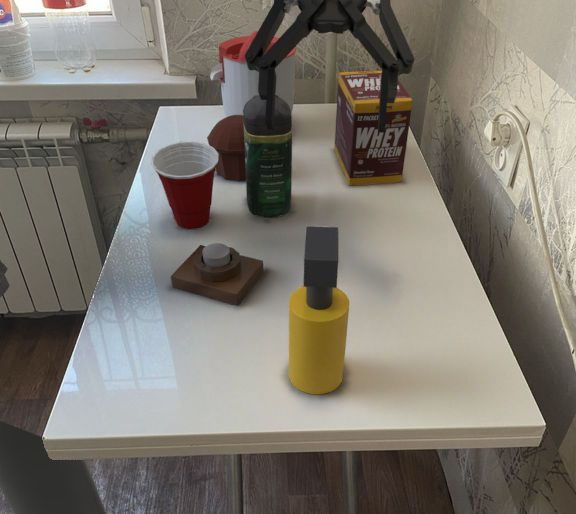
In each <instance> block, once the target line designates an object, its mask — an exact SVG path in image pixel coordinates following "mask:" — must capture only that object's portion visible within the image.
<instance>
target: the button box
mask: <svg viewBox="0 0 576 514" xmlns="http://www.w3.org/2000/svg"><path fill="white" fill-rule="evenodd" d="M206 246H207V245H202V244H200V245H199V246H198V247H197V248H196V249H195V250H194V251H193V252H192V253H191V254H190V255H189V256H188V257H187V258H186V259H185V260H184V261H183V262H182V263H181V265H180V266H179V267H177V269H176V270H175V271H174V272H173V273H172V274H171V275H170V280H171V286H172V289H176V290H180V291H183V292H186V293H187V292H188V293H191V294H194V295H198V296H201V297H205V298H208V299H212V300H216V301H220V302H223V303H226V304H229V305H233V306H237V307H238V306H239V305H240V304H241V303H242V301H243V300H244V298H245V297H246V296H247V295H248V293H249V292H250V291H251V290H252V288H253V287H254V285H256V283H257V282H258V281H259V279H260V278H261V277H262V275H263V274H264V272H265V271H264V270H265V269H264V268H265V267H264V260H262V259H258V258H254V257H251V256H246V255H243V254H242V255H241V254H240V252H239V251H237V250H236V249H235V248H234V247H232V246H228V247H229V249H230V263H229V264H227V265H225V266H223V267H209V266H206V265H205V264H204V261H203V249H204V248H205V247H206Z"/></svg>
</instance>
